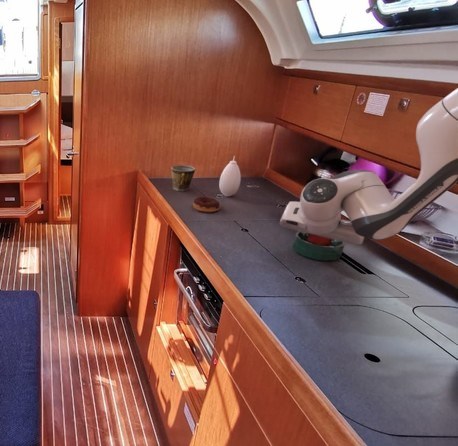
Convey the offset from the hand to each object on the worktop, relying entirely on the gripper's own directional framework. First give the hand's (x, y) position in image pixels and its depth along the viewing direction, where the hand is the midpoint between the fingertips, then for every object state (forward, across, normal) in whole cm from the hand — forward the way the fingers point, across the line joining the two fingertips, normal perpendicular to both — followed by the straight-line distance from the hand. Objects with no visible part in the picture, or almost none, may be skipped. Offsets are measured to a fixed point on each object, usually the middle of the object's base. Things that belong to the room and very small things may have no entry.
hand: (320, 237), depth 121 cm
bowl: (+3, 0, +4) cm, 5 cm away
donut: (+13, +40, -6) cm, 43 cm away
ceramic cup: (+24, +58, -17) cm, 65 cm away
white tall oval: (+28, +40, -20) cm, 53 cm away
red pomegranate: (+3, 0, +4) cm, 5 cm away
